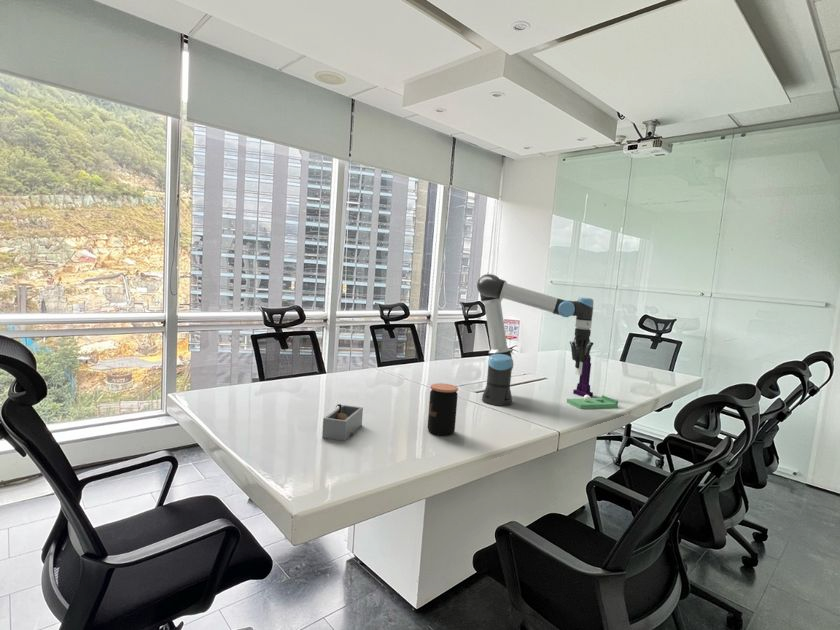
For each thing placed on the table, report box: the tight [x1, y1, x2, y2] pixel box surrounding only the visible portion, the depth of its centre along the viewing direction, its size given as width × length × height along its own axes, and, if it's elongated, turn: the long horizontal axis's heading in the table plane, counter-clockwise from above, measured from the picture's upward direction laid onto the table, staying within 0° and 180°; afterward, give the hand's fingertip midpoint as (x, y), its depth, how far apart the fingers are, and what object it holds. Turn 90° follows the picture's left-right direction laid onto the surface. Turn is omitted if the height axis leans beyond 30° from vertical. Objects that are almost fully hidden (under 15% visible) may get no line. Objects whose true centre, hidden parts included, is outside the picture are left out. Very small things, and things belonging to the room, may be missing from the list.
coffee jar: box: [427, 382, 459, 437], centre depth 175 cm, size 11×11×18 cm
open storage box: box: [321, 404, 364, 442], centre depth 168 cm, size 8×18×7 cm, turn 168°
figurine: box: [335, 403, 354, 436], centre depth 168 cm, size 14×4×9 cm, turn 31°
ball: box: [582, 395, 592, 402], centre depth 232 cm, size 4×4×4 cm
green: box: [566, 394, 619, 410], centre depth 233 cm, size 23×11×4 cm, turn 108°
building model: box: [572, 354, 594, 398], centre depth 253 cm, size 9×6×30 cm
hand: (578, 374), depth 229 cm, fingers closed
